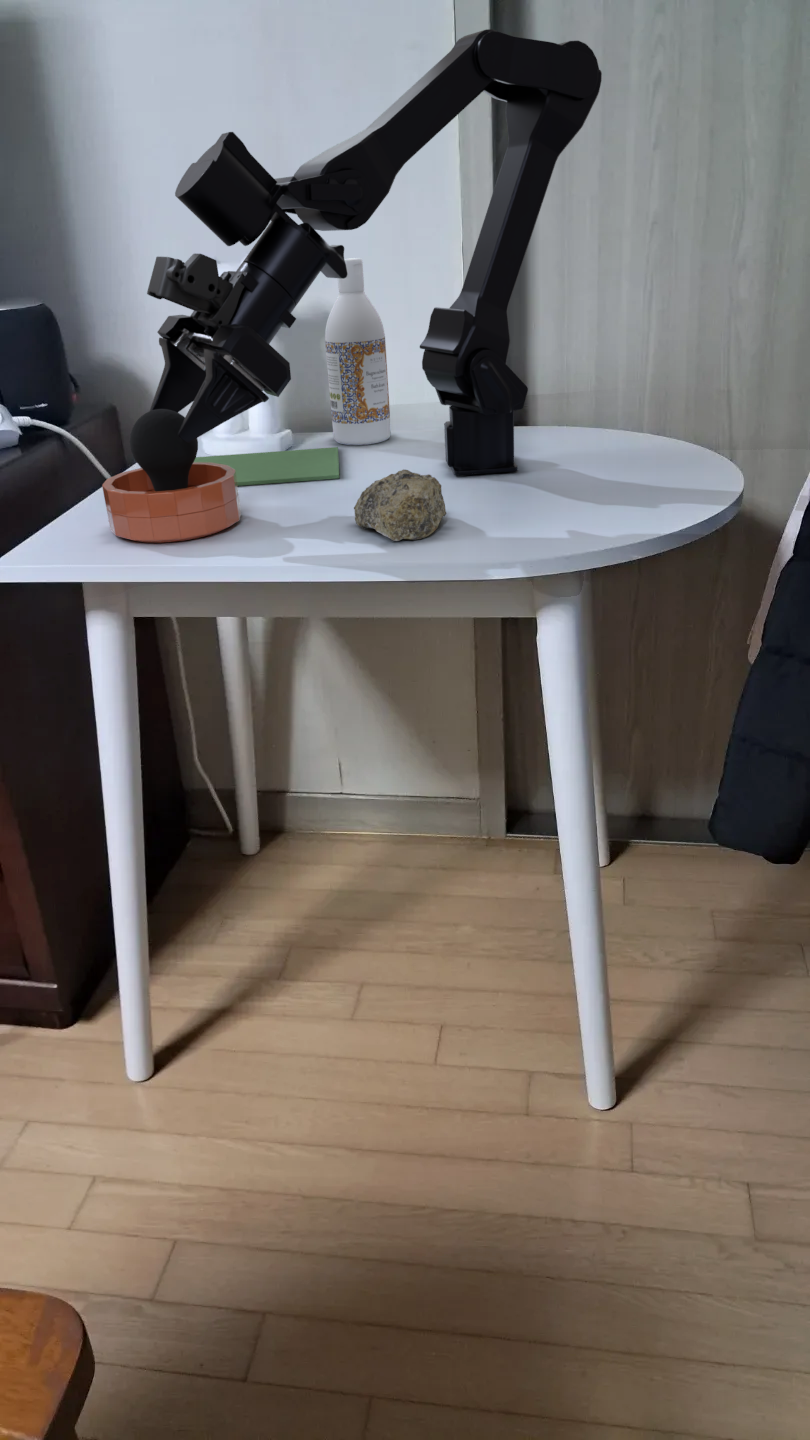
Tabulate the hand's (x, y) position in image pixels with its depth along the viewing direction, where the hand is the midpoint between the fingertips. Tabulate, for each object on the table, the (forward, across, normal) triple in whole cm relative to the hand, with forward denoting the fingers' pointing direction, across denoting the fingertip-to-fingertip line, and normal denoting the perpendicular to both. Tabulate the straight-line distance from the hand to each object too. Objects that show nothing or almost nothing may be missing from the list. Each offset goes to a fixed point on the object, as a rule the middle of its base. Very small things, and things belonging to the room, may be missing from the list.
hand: (166, 431), depth 91 cm
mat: (-3, -17, +15) cm, 23 cm away
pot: (+6, 0, +6) cm, 8 cm away
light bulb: (+6, 0, +6) cm, 8 cm away
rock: (-5, +14, +17) cm, 22 cm away
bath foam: (-15, -22, +27) cm, 38 cm away
